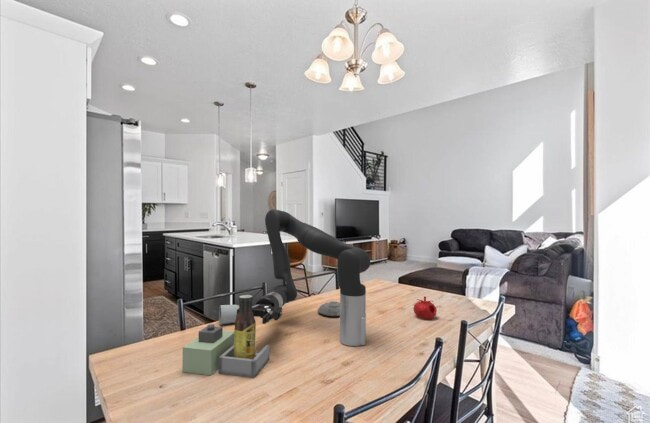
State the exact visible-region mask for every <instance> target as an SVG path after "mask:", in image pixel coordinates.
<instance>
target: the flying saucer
mask: <svg viewBox="0 0 650 423" xmlns="http://www.w3.org/2000/svg"><path fill="white" fill-rule="evenodd" d="M317 312H318V313H319V314H321V315H324V316H328V317H340V301H339V302H338V301H333V300H332V301H329V302H328V301H327V302H325V303H322V304H321V305H320V306H319V307H318V309H317Z"/></svg>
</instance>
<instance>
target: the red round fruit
mask: <svg viewBox="0 0 650 423" xmlns="http://www.w3.org/2000/svg"><path fill="white" fill-rule="evenodd" d="M416 300H417V302H415V303H414V305H413V307H412V308H413V310H412V311H413V312H414V314H415V316H416V317H417V318H419V319H421V320H428V321H429V320H430V321H431V320H433V319H435V318H436V315H437V312H438V311H437V307H436V306H435V304H434V301H433V300H427V296H423V300H422V299H416Z"/></svg>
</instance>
